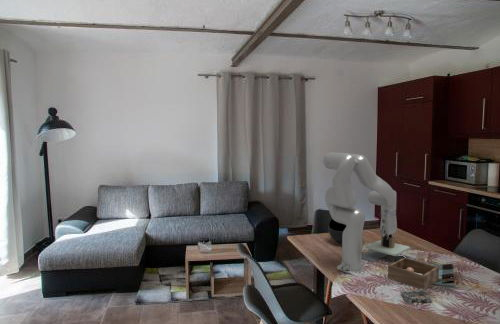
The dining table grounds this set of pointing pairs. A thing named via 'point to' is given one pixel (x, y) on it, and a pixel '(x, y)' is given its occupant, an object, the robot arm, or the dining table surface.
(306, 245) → the dining table surface
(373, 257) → the mat
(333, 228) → the coal bowl
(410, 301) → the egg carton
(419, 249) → the dining table surface
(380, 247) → the lid
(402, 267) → the box
